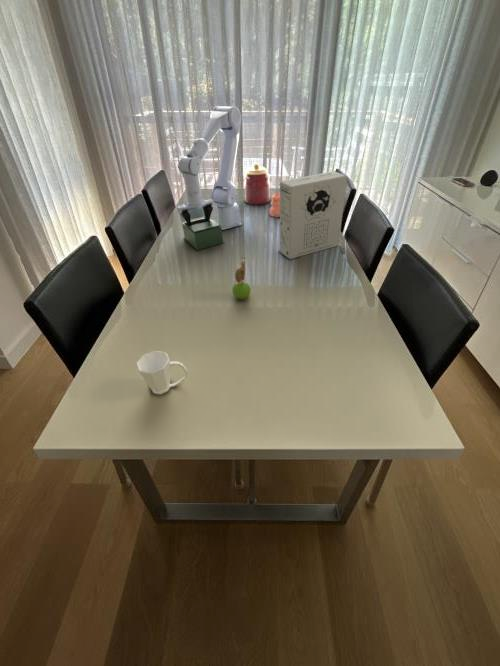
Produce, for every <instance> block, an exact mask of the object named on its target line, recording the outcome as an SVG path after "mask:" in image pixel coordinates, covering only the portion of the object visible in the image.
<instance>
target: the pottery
mask: <svg viewBox="0 0 500 666" xmlns="http://www.w3.org/2000/svg"><path fill="white" fill-rule="evenodd" d="M270 204H271V207H270V208H269V215H270V217H273V218H280V191H279V192H278V191H276V192H275V193H274V194H273V195H272V196H271V202H270Z"/></svg>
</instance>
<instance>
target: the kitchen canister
mask: <svg viewBox="0 0 500 666" xmlns="http://www.w3.org/2000/svg"><path fill="white" fill-rule="evenodd" d="M244 172H245V175H244V176H243V180H244V183H243V185H244V186H243V187H244V200H245V202H246V204H248V205H254V206H255V205H256V206H257V205H264V204H268V203H269V202H270V201H271V182H270V178H271V174H269V173H268V172H269V169H268V168H266V167H265V166H260V164H259V163H257V162H256V163H254V164H253V166H251V167H248V168H247V169H246V170H245V171H244Z"/></svg>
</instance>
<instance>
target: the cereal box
mask: <svg viewBox="0 0 500 666" xmlns="http://www.w3.org/2000/svg"><path fill="white" fill-rule="evenodd" d="M347 180H348V175H346V174H343V173H341V172H338V171H334V170H332V171H328V172H322V173H315V174H311V175H306V176H300V177H295V178H291V179H286V180H281V181H280V182H279V195H280V217H279V252H280V253H281V254H282V255H283V256H285V257H286V258H287V259H289V260H292V259H296V258H299V257H302V256H306V255H310V254H314V253H318V252H320V251H325V250H327V249H332V248H335V247H338V246H340V238H341V230H342V221H343V213H344V206H345V198H346V197H345V196H346V188H347V182H348V181H347Z"/></svg>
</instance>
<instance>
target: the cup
mask: <svg viewBox="0 0 500 666" xmlns="http://www.w3.org/2000/svg"><path fill="white" fill-rule="evenodd" d="M135 365H136V367H137V369H138V372H139V373H140V375H141V376H142V378H143V379H144V381H145V383H146V385H147V386H148V387H149V389H150V390H151V391H152V393H153V394H155V395H162V394H165V393H167V392H169V390H170V388H175V387H176V386H178V385H180V384H181V383H183V382H184V381H185V380H186V379H187V376H188V370H187V367H186V366H185V364H184V363H182V362H181V361H179V360H178V361H177V360H172V361H170V357H169V355H168V354H167V352H165V351H159V350H152V351H150V352H147V353H144V354H141V356H140V357H139V359H138V360H137V361H136V363H135ZM176 365H177V366H179V367H181V368H182V370H183V371H184V373H185V374H184V376H182V377H181V378H180V379H179V380H177V381H176V382H172V383H171V377H172V375H171V374H172V373H171V367H173V366H176Z"/></svg>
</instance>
